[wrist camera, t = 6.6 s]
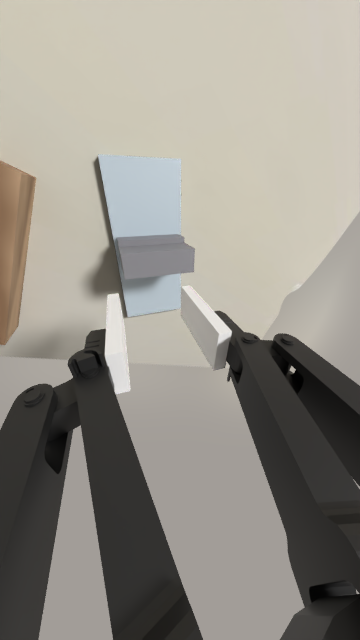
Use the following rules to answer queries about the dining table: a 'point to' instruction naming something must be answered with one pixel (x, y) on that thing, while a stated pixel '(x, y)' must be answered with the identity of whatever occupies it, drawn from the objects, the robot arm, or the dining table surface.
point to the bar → (13, 243)
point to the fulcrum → (147, 230)
